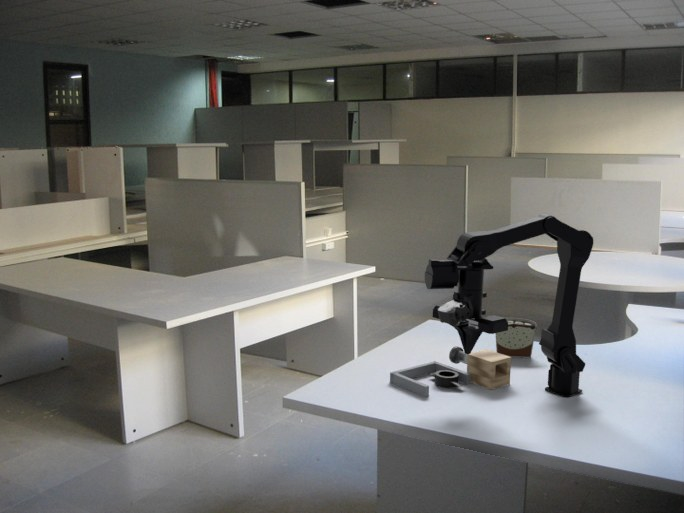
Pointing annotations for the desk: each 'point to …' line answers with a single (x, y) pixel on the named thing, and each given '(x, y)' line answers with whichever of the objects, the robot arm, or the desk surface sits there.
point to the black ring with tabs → (446, 378)
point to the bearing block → (489, 369)
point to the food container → (517, 338)
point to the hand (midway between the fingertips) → (467, 353)
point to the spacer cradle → (406, 375)
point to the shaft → (458, 355)
